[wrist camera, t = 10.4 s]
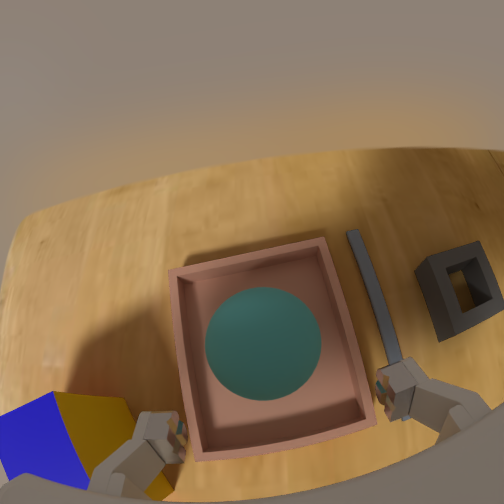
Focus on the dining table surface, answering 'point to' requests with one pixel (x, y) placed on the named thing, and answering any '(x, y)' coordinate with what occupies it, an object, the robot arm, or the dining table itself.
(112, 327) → the dining table surface
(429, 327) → the dining table surface
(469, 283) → the grey square frame
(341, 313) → the tray
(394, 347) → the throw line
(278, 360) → the ball
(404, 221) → the dining table surface
